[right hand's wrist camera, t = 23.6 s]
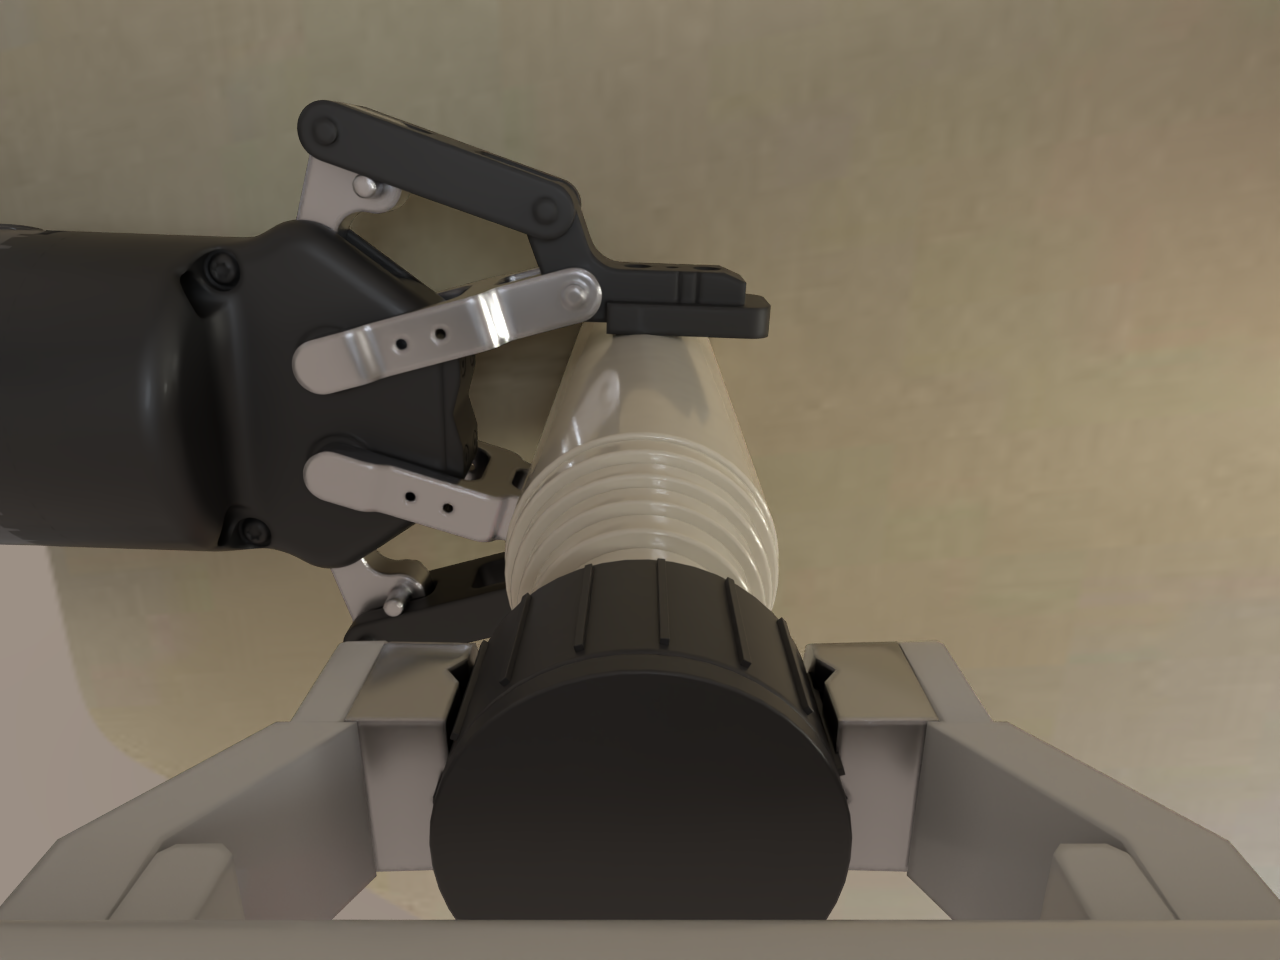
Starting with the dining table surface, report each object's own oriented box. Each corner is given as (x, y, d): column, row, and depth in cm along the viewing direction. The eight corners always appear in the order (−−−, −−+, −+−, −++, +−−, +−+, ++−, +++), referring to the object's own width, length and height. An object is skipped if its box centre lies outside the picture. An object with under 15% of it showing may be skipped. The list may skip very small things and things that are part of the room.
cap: (808, 539, 9) (855, 651, 7) (815, 833, 11) (858, 997, 9) (445, 569, 9) (388, 685, 7) (497, 854, 11) (461, 1023, 9)
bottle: (696, 274, 27) (820, 562, 8) (722, 407, 28) (880, 918, 9) (559, 305, 27) (367, 651, 8) (592, 435, 28) (493, 982, 10)
